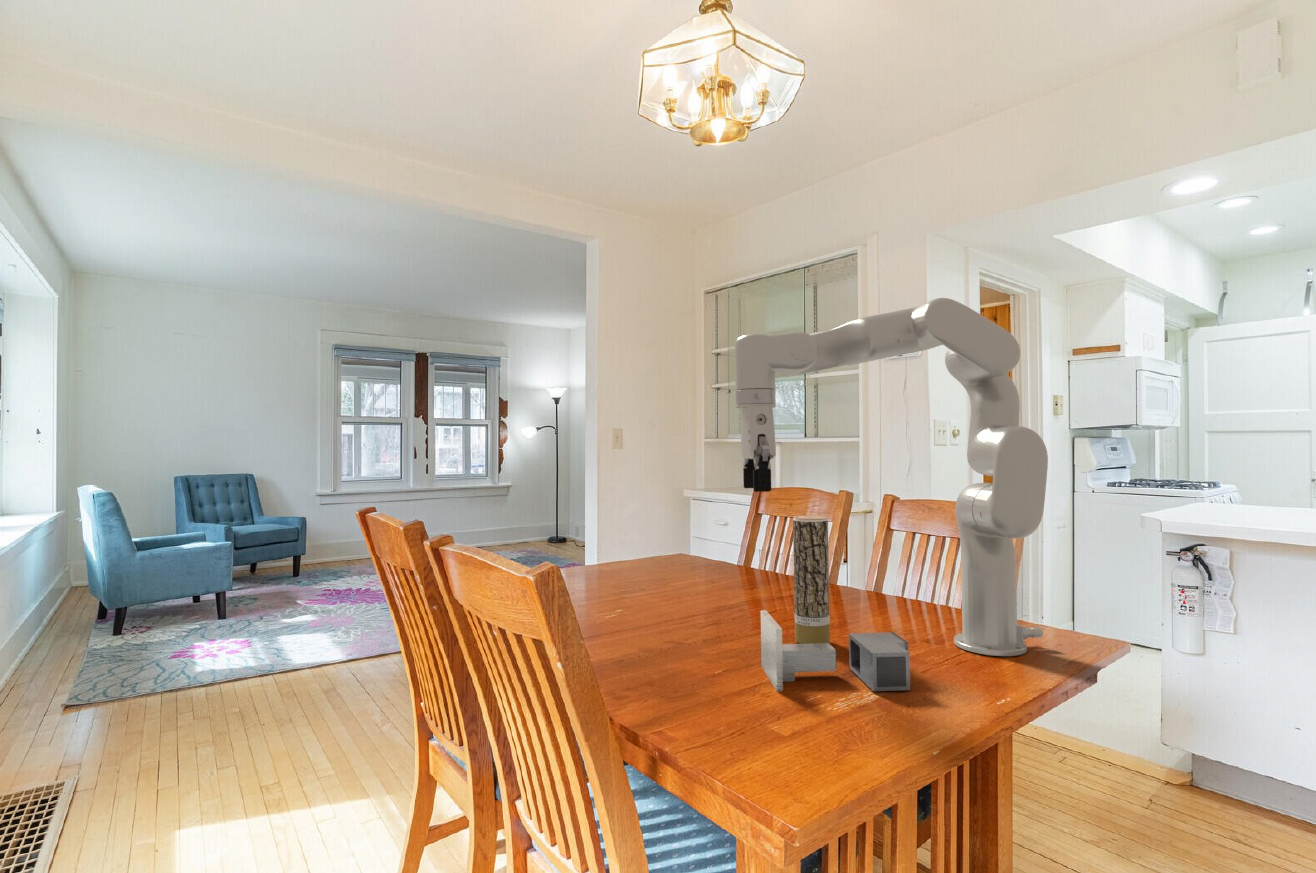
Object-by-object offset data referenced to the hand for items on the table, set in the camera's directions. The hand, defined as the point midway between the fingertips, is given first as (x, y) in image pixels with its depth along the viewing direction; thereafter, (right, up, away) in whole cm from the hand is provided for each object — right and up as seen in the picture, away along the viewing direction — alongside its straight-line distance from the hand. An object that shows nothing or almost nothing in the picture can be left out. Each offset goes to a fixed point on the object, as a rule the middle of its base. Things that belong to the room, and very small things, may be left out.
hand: (756, 489), depth 125 cm
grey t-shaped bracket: (+6, -31, -13) cm, 34 cm away
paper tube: (+12, -31, +6) cm, 34 cm away
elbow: (+19, -30, -15) cm, 39 cm away
